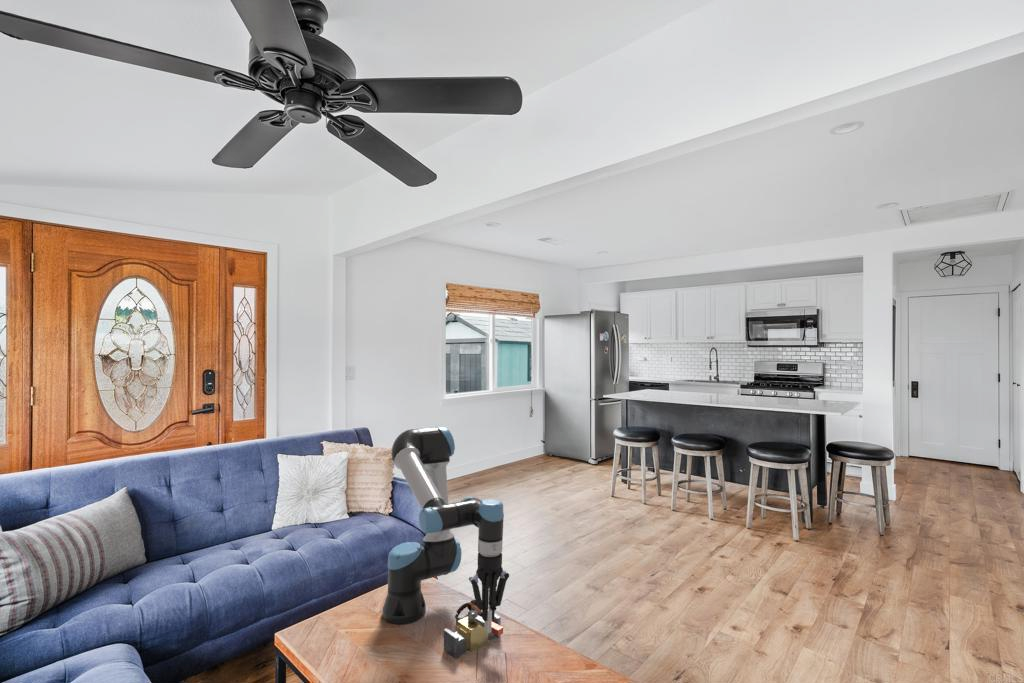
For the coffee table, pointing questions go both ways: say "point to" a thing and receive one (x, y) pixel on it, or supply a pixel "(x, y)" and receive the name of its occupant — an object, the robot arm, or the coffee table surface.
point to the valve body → (467, 637)
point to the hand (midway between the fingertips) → (487, 630)
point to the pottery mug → (471, 607)
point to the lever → (475, 618)
